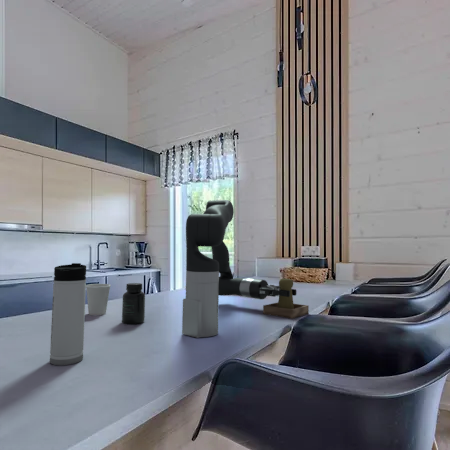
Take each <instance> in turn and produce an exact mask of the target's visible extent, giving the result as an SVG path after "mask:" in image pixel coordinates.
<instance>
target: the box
mask: <svg viewBox="0 0 450 450" xmlns="http://www.w3.org/2000/svg"><path fill="white" fill-rule="evenodd" d="M293 304H294V309H286V308H279V307H278V301H277V302H273V303H269V304H265V305H264V304H263V306H262V307H263V308H262V309H263V311H262V315H267V316H273V317H281V318H285V319H290V320H294V319H297V318H299V317H303V316H306V315H309V313H310V311H309V309H310V307H309V306H310V305H307V304H302V303H301V304H299V303H293Z"/></svg>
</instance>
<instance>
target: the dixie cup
mask: <svg viewBox="0 0 450 450" xmlns="http://www.w3.org/2000/svg"><path fill="white" fill-rule="evenodd" d="M110 291H111V284H110V283H91V284H90V283H89V284H86V300H87V301H86V302H87V311H88V312H87V313H88V316H102V315H106V314H107V308H108V301H109V295H110Z"/></svg>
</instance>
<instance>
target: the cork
mask: <svg viewBox="0 0 450 450" xmlns="http://www.w3.org/2000/svg"><path fill="white" fill-rule="evenodd" d="M278 286H280V290H289V291H290V297H285V296H278V301H277V302H278V307H279V308H286V309H294V304H295V303H294V298H293V297H294V295H292V289H293V287H294V281H293V280H292V279H290V278H287V277H286V278H284V277H283V278H281V279H279V281H278Z"/></svg>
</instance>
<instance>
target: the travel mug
mask: <svg viewBox="0 0 450 450" xmlns="http://www.w3.org/2000/svg"><path fill="white" fill-rule="evenodd" d="M53 271H54V272H53V275H54V277H53V287H52V289H53V290H52V307H51V325H50V326H51V329H50V351H49V353H50V355H49V362H50V364H51V365H54V366H69V365H75V364H77V363H80V362H81V361H82V360H83V359H84V345H85V344H84V341H85V340H84V339H85V337H84V336H85V319H86V317H85V316H86V315H85V312H86V296H87V290H86V285H87V283H86V282H87V277H86V276H87V265H85V264H82V263H81V262H80V263H78V262H72V263H71V264H63V265H62V264H61V265H57V266H55V267H54V270H53Z"/></svg>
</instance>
